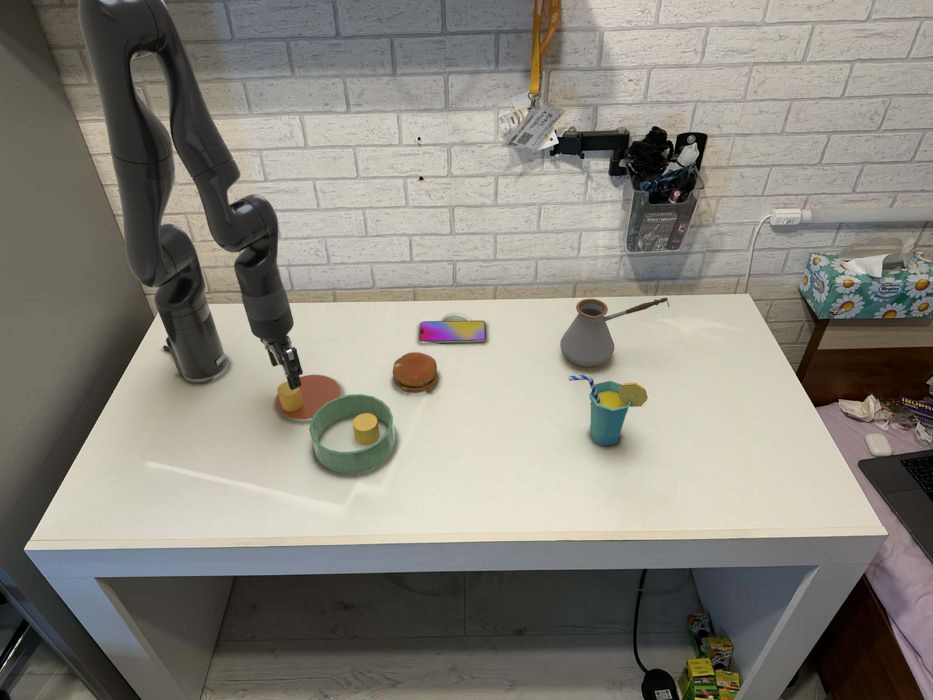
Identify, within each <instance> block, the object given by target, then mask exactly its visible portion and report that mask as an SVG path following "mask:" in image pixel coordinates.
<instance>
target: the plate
mask: <svg viewBox="0 0 933 700" xmlns="http://www.w3.org/2000/svg"><path fill="white" fill-rule="evenodd" d="M299 377H300V381H301V386H300V391H301V395H302V399H303V405H302V407H301V408H300V409H298V410H296V411H293V412H288V411H285V410H284V409H283V408H282V405H281V402H280V398H279V395H278V394H277V395H276V398H275V405H276V408H277V410H278V411H279V412H280V413H281V414H282V415H283V416H285V417H288V418H290V419H295V420H309V419H310V420H311V419H312V418H313V416H314V414H315V413H316V411H317V410H318V409H320V408H321V407H322V406H323V405H324V404H325V403H327V402H329V401H331V400H333V399H335V398H338V397H342V396H341V395H342V391H341V387H340V385H339V383H338V382H337V381H336V380H334V379H333V378H331V377H329V376H326V375H321V374H307V375H302V376H299Z"/></svg>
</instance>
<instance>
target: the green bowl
mask: <svg viewBox="0 0 933 700" xmlns="http://www.w3.org/2000/svg"><path fill="white" fill-rule="evenodd" d="M363 413H370V414H373V415H375V416H376V418H377V420H381V421H382V422H384V423H385V425H386V426H387V429H386V431H385V433H384V434H383V435H382V436H381V437H380V438H379V439H378V440H377V441H375V442H373V443H371V444H370V445H369V446H367V447H365V448H362V449H358V450H354V451H340V450H339V451H338V450H334V449H329V448H328V447H326V446H325V445H324V446H323V445H322V444H320V442H319V438H320V437H321V435H322V433H323V432H324V430H325V429H327V428H328V427H329V426H330V425H331V424H333V423H334V422H336V421H338V420H341V419H343V418H346V417H350V416H358V415H360V414H363ZM393 417H394V416H393V413H392V411H391V408H390V406H388V405H387V404H386V403H385V402H384V401H383V400H382V399H380V398H378V397H376V396H373V395H368V394H363V393H357V394H356V393H355V394H346V395H342V396H340V397H338V398H335V399H333V400H331V401H329V402H327V403H325V404H324V405H323V406H322V407H321V408H320V409H318V410H317V411H316V413H315V414H314V416H313V418H310V423H309V428H308V430H309V434H310V438H311V442H312V447H313V450H314V454H315V457H316V459H317V460H318V461H319V463H320V464H321V465H322V466H324V467H325V468H327V469H329V470H331V471H333V472H338V473H342V474H351V473H353V474H355V473H360V472H361V473H362V472H365V471H367V470H371V469H372V468H374V467H377V466H378V465H379V464H381V463H383V462H384V461H385V460H386V459H387V458H388V456H390V455H391V453H392V451H393V449H394V447H395V444H396V431H395V423H394V418H393Z"/></svg>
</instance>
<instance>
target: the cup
mask: <svg viewBox="0 0 933 700" xmlns="http://www.w3.org/2000/svg"><path fill="white" fill-rule="evenodd" d="M568 381H569V382H571V381H573V382H574V381H587V382H588V383H589V387H590V390H591V391H590V392H589V396H588V397H589V399H590V437H591V438H592V440H593V442H594V443H595V444H598V445H601V446H603V447H609V446H612V445H616V444H617V442H618V440H619V438H620V436H621V432H622V430H623V429H622V428H623V426H624V422H625V419H626V416H627V414H628V410H629V408H632V407H633V408H634V407H642V406H643V405H644V404H645V403H646V402H647V400H648V394H647V390H646V388H645V387H644V386H642V385H640V384H638V383H637V382H625V383H623V384H622V383H618V382H615V381H612V380H608V381H604V382H599V383H595V381H594V379H593V378H592V377H591V376H590V375H589V374H578V375H577V374H576V375H569V376H568Z"/></svg>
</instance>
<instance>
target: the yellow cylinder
mask: <svg viewBox="0 0 933 700" xmlns="http://www.w3.org/2000/svg"><path fill="white" fill-rule="evenodd" d="M277 395H279V398H280V402H281V405H282V408H283V409H284V410H285V411H288V412H293V411H296V410H298V409H300V408H301V407H302V405H303V399H302V395H301V391H300V387H299V388H296V389H294V390H291V389H290V388H289V385H288V382H287V381H284V382H282V383H281V384H279V386H277Z"/></svg>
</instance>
